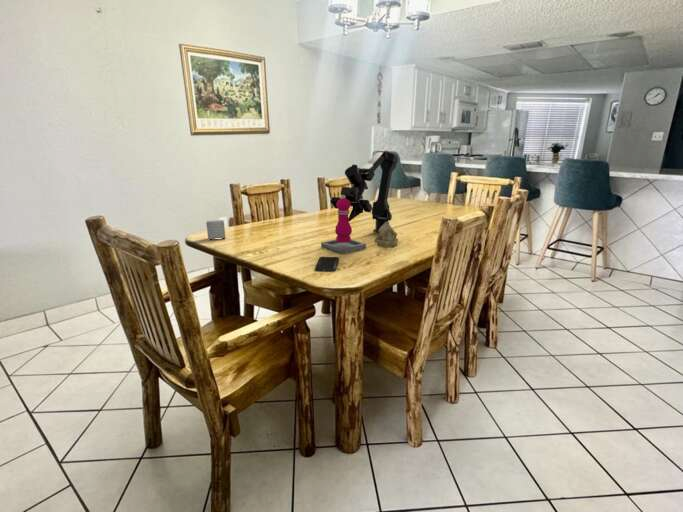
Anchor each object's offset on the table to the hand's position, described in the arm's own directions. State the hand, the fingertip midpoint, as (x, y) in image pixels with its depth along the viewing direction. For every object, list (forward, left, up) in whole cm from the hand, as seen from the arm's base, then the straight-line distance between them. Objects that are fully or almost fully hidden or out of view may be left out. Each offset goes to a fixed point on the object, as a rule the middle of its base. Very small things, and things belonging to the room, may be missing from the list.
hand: (343, 220), depth 155 cm
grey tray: (0, 0, -12) cm, 12 cm away
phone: (+14, -19, -13) cm, 27 cm away
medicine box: (-50, -38, -13) cm, 64 cm away
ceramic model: (+6, +21, -13) cm, 25 cm away
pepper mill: (0, 0, -9) cm, 9 cm away
